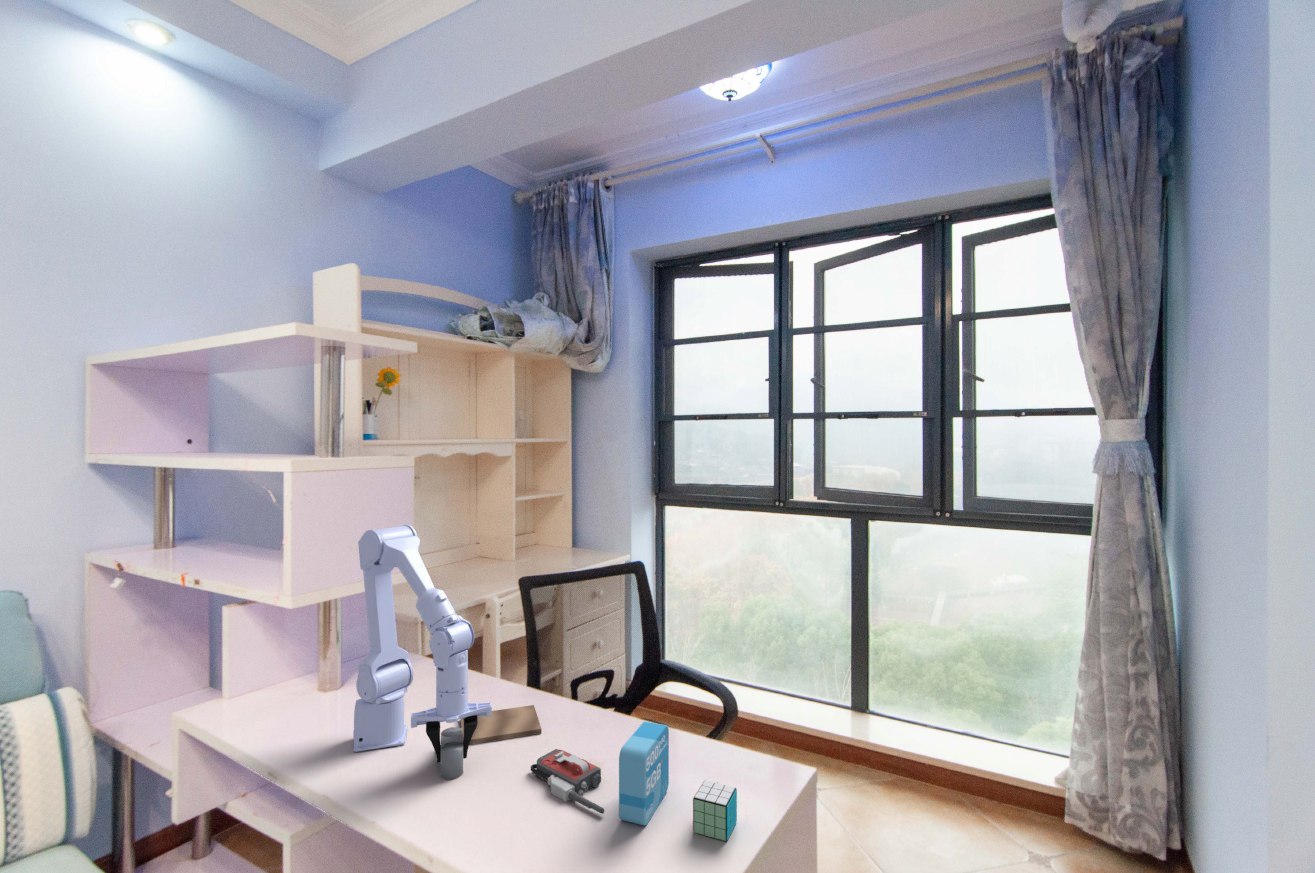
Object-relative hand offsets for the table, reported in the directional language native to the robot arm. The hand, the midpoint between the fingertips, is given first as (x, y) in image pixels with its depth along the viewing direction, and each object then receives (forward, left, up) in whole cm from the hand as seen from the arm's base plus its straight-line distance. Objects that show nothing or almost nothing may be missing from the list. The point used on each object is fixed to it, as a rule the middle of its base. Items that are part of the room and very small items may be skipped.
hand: (451, 757), depth 115 cm
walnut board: (+10, +13, -1) cm, 16 cm away
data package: (+31, -24, -2) cm, 39 cm away
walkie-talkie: (+21, -15, -2) cm, 26 cm away
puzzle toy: (+40, -33, -2) cm, 52 cm away
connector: (0, +1, -1) cm, 2 cm away
